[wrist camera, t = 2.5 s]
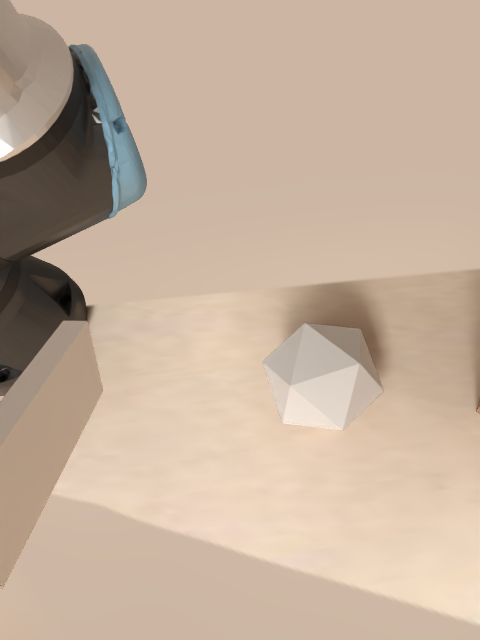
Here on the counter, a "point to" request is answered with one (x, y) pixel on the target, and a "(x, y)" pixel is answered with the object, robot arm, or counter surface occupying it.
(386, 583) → the counter surface
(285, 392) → the die
